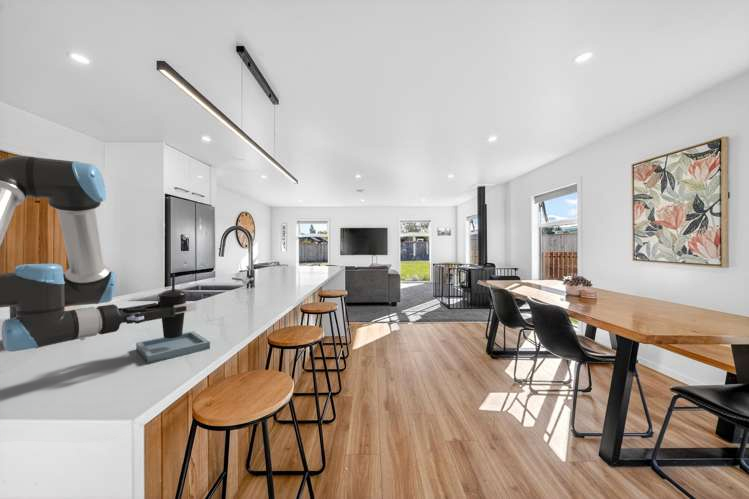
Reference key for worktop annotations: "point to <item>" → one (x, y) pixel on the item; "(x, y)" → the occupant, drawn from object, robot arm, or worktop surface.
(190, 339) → the slate tray
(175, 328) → the drinking cup
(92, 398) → the worktop surface
